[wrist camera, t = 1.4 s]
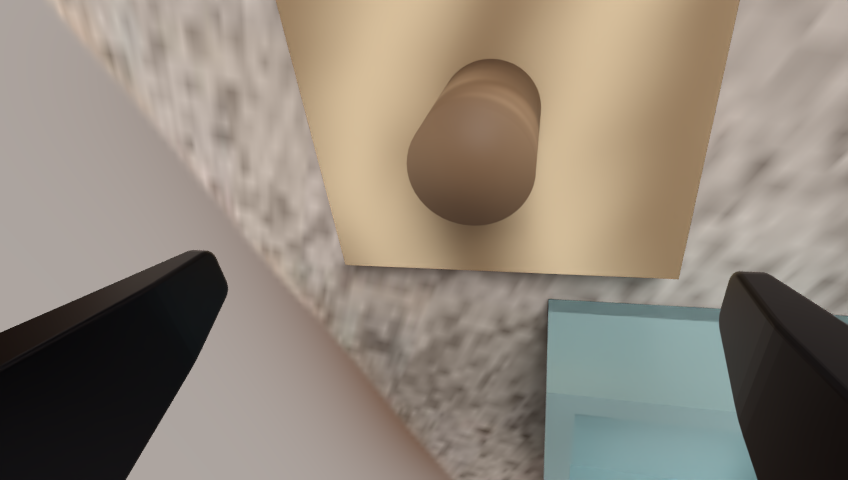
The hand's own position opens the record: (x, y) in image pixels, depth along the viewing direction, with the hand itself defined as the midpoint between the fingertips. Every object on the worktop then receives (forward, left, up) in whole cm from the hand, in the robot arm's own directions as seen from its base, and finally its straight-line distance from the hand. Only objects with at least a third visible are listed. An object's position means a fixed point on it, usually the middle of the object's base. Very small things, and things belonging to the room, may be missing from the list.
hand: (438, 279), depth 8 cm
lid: (0, 0, -9) cm, 9 cm away
